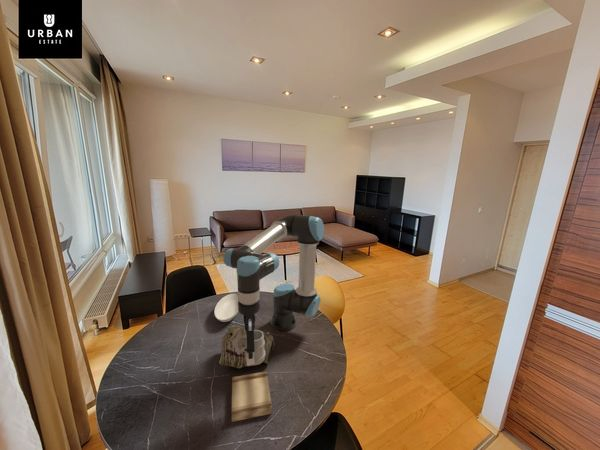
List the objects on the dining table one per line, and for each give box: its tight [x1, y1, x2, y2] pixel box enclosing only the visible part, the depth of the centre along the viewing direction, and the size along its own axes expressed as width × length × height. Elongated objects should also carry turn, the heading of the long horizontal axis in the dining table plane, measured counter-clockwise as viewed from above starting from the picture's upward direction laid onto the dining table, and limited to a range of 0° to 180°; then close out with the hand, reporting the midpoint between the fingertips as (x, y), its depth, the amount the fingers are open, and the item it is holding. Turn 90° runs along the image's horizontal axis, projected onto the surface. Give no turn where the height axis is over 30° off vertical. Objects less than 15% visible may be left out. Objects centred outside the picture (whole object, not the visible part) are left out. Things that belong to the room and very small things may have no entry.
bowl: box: [214, 293, 239, 323], centre depth 150 cm, size 30×15×6 cm, turn 3°
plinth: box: [231, 370, 273, 423], centre depth 94 cm, size 14×16×4 cm
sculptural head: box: [218, 324, 275, 369], centre depth 113 cm, size 17×21×25 cm
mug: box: [234, 328, 266, 366], centre depth 91 cm, size 8×12×12 cm, turn 84°
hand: (250, 356), depth 91 cm, fingers closed on mug, 8 cm apart
